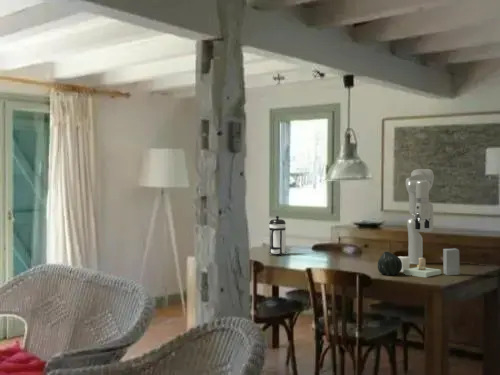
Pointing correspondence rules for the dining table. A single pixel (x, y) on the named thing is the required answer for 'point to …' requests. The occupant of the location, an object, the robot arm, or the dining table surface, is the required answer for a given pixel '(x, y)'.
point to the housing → (405, 263)
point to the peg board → (422, 272)
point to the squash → (389, 264)
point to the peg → (422, 263)
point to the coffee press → (277, 236)
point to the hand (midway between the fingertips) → (422, 228)
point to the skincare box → (451, 261)
